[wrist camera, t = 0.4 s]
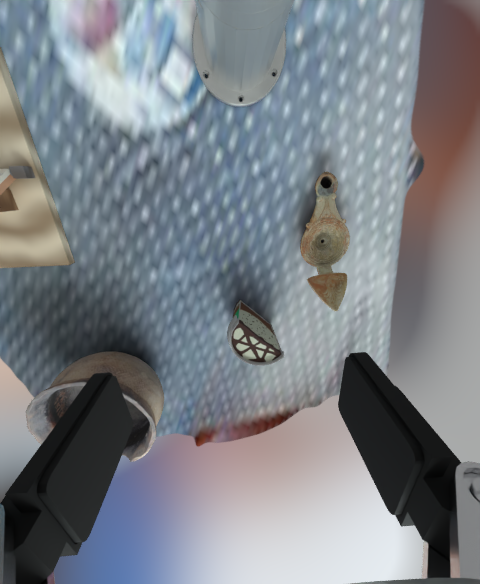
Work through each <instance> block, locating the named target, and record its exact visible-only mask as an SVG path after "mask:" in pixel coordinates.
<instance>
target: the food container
mask: <svg viewBox="0 0 480 584" xmlns="http://www.w3.org/2000/svg"><path fill="white" fill-rule="evenodd" d="M227 338H228V342H229V345H230V347H231V349H232V351H233V353H234V354H235V355H236V356H237V357H238V358H239V359H240V360H242V361H244V362H246V363H248V364H252V365H269V364H272V363H275V362H277V361H279V360H281V359H282V358H284V352H283V351H281V348H280V346H279V343H278V340H277V338H276V335H275V333H274V330H273V328H272V325H271V324H270V323H269V322H267V321H266V320H265V319H264V318H262V317H261V316H260V315H259V314H257V313H256V312H255V311H254V310H252V309H251V308H250V307H249V306H247V305H246V304H245V303H244V302H242V301H241V300H239V302H238V303H237V304H236V307H235V309H234V314H233V319H232V320H231V322H230V324H229V327H228V331H227Z"/></svg>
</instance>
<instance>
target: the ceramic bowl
mask: <svg viewBox="0 0 480 584" xmlns="http://www.w3.org/2000/svg"><path fill="white" fill-rule="evenodd" d="M107 372H110V373H112V375H113V376H116V377H117V380H118V383H119V385H120V388H121V391H122V393H123V396H124V399H125V401H126V404H127V407H128V409H129V412H130V415H131V417H132V420H133V427H132V431H131V433H130V436H129V438H128V441H127V443H126V446H125V448H124V451H123V453H122V455H124V456H127V457H128V458H129V460H130V462H132V461H135V460H137V459H140V458H142V457H143V456H144V455H145V454H147V452H149V450H150V448H151V446H152V444H153V442H154V441H155V438H156V425H157V423H158V421H159V419H160V417H161V414H162V411H163V405H164V393H163V389H162V386H161V383H160V380H159V378H158V376H157V374H156V373H155V371H154V370H153V369H152V368H151V367H150V366H149V365H148V364H146V363H145V362H144V361H142V360H141V359H139V358H137V357H135V356H132V355H129V354H126V353H122V352H114V351H110V352H99V353H95V354H92V355H89V356H85V357H83V358H80V359H78V360H76V361H75V362H74V363H72V364H71V365H69V366H68V367H67V368H66V369H65V370H63V371H62V372H61V373H60V374H59V375H58V376H57V377H56V379H55V380H54V382H53V383H52V385H51V386H50V388H48V389H46V390H44V391H42V392H41V393H39V394H38V395H37V396H36V397H35V398H34V399H33V400H32V402H31V403H30V405H29V406H28V408H27V410H26V418H27V425H28V429H29V431H30V432H31V434H32V435H33V436H34V437H35V438H36V440H37V441H38V442H39V443H40V444H42V443H43V442H44V441H45V439H46V438H47V436H48V435H49V434H50V432H51V431H52V430H53V428H54V427H55V425H56V424H57V423H58V421H59V420H60V419H61V417H62V416H63V414H64V413H65V412H66V410H67V409H68V408H69V406H70V405H71V404H72V402H73V401H74V399H75V398H76V397H77V395H78V394H79V393H80V391H81V390H82V388H83V387H84V386H85V384H86V383H87V382H88V380H89V379H90V378H91V376H92V375H93V374H95V373H107Z"/></svg>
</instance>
